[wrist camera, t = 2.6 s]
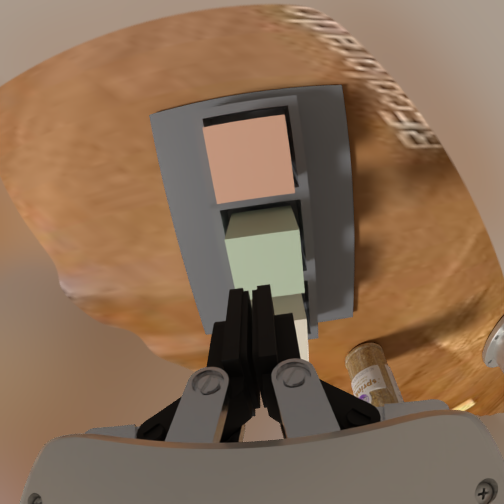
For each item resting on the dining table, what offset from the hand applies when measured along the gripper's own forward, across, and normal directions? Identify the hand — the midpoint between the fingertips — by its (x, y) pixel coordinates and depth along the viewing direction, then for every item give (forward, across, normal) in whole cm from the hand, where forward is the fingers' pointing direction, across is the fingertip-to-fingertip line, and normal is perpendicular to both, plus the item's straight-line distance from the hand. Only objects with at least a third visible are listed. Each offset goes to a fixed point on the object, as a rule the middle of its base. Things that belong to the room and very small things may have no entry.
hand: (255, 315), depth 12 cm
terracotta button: (+9, -1, -6) cm, 11 cm away
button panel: (+12, -1, 0) cm, 12 cm away
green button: (+9, -1, 0) cm, 9 cm away
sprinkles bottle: (+12, -10, +17) cm, 23 cm away
